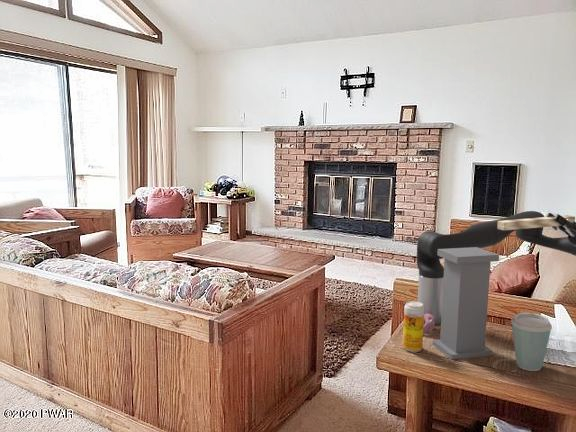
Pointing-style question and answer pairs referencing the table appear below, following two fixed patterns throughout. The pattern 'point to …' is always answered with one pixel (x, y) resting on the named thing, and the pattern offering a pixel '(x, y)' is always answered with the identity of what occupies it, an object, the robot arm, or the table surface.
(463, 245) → the robot arm
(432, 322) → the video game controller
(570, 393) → the table surface
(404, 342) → the yellow bottle
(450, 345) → the gray pedestal
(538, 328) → the disposable coffee cup
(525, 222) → the beech bar
